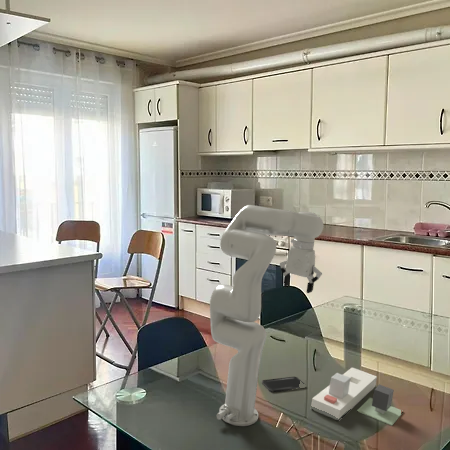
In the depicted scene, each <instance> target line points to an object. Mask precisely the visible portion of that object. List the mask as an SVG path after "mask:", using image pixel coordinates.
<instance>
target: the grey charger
mask: <svg viewBox="0 0 450 450" xmlns="http://www.w3.org/2000/svg"><path fill="white" fill-rule="evenodd" d="M329 385H330V388H329V394H331V395H333V396H336V397H338V398H341V399H343V398H344V397H345V396H346V395H347V394H348V391H349V385H350V377H347V376H344V375H343V374H341V373H339V372H336V373H335V374H334V375H332V376H331V377H330V382H329Z"/></svg>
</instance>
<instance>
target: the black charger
mask: <svg viewBox="0 0 450 450" xmlns="http://www.w3.org/2000/svg"><path fill="white" fill-rule="evenodd" d="M372 396H373V397H372V399H373V401H372V406H374V407H375V411H377V412H380V413H382V414H384V413H385V412H386V411H387V410H388V409H389V408H390V407H391V406H392V403H393V397H394V389H393V388H389V387H387V386H384V385H382V384H381V383H380V384H378V385H377V387H376V386H375V387H374V388H373V395H372Z"/></svg>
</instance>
